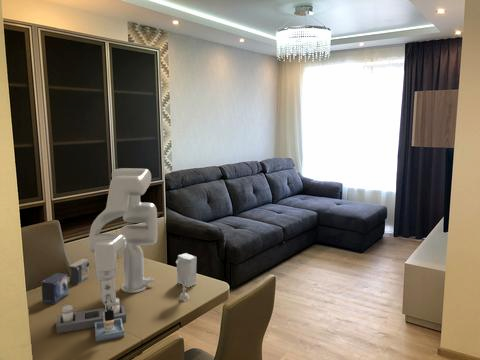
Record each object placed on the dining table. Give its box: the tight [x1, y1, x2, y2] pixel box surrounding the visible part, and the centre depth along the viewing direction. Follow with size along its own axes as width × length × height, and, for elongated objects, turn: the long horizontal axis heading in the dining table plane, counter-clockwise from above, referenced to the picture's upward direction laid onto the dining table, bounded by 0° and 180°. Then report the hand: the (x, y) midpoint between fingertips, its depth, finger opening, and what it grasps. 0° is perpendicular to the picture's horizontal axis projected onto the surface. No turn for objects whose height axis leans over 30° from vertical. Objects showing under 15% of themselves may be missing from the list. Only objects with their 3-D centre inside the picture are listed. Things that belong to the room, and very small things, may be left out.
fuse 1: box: [61, 304, 74, 323], centre depth 160 cm, size 4×4×8 cm
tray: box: [94, 318, 125, 343], centre depth 156 cm, size 10×10×2 cm
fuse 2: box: [112, 297, 121, 314], centre depth 167 cm, size 4×4×8 cm
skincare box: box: [176, 252, 198, 288], centre depth 199 cm, size 8×6×15 cm
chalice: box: [175, 259, 192, 301], centre depth 184 cm, size 7×7×18 cm
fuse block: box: [55, 304, 127, 334], centre depth 164 cm, size 26×9×3 cm, turn 111°
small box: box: [41, 272, 69, 306], centre depth 183 cm, size 11×6×10 cm, turn 168°
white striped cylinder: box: [103, 312, 115, 333], centre depth 156 cm, size 4×4×8 cm
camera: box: [68, 258, 90, 286], centre depth 203 cm, size 11×6×10 cm, turn 163°
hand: (108, 313), depth 155 cm, fingers open, 9 cm apart
